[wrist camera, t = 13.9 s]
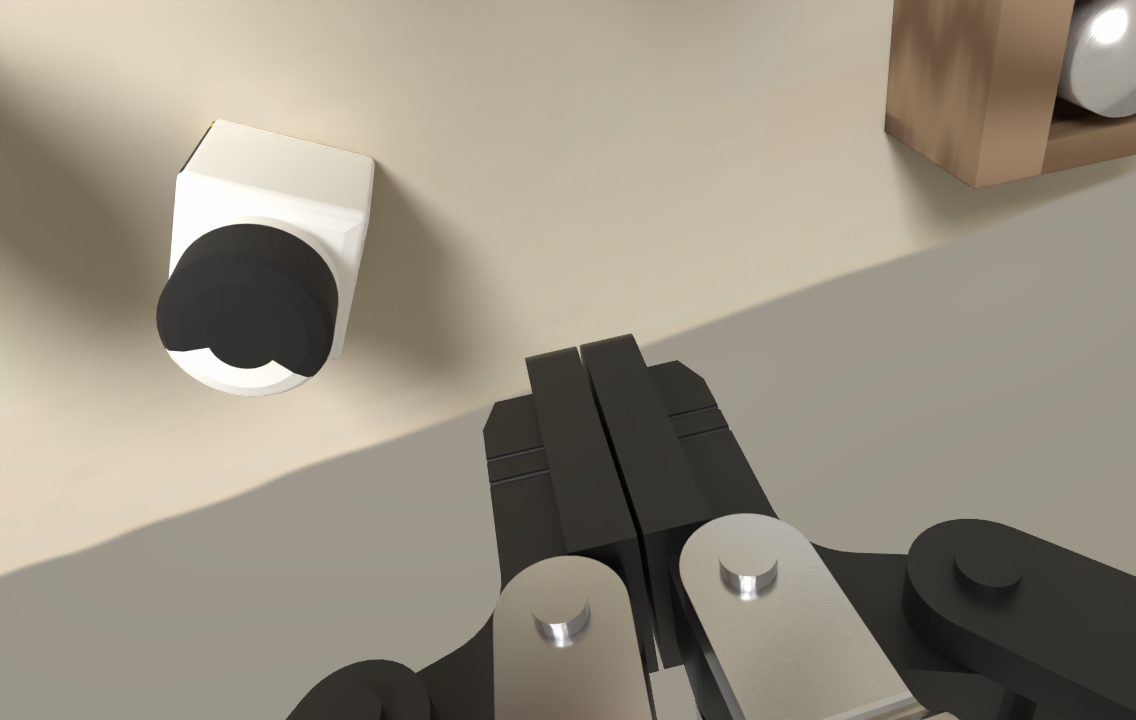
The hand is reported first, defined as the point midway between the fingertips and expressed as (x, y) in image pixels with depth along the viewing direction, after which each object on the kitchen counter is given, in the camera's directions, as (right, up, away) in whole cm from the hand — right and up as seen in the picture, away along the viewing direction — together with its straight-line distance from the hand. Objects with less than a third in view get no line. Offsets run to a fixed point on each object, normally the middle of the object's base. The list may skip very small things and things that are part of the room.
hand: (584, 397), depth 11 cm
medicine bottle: (-14, +8, +27) cm, 31 cm away
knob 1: (+22, +15, +25) cm, 36 cm away
